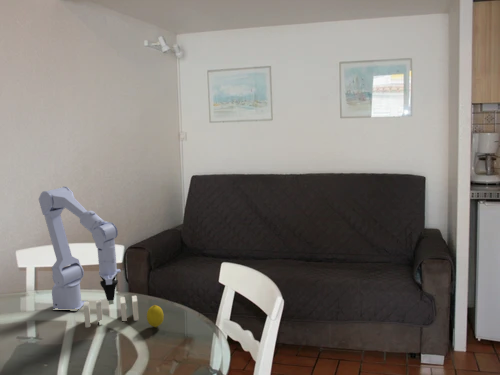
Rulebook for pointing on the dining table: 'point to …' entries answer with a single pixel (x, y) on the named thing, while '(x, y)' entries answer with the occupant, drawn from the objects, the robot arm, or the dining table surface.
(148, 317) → the lemon
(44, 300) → the dining table surface
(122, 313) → the domino
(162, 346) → the dining table surface
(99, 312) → the domino
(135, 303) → the domino
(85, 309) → the light grey rectangular block
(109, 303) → the domino
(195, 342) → the dining table surface
